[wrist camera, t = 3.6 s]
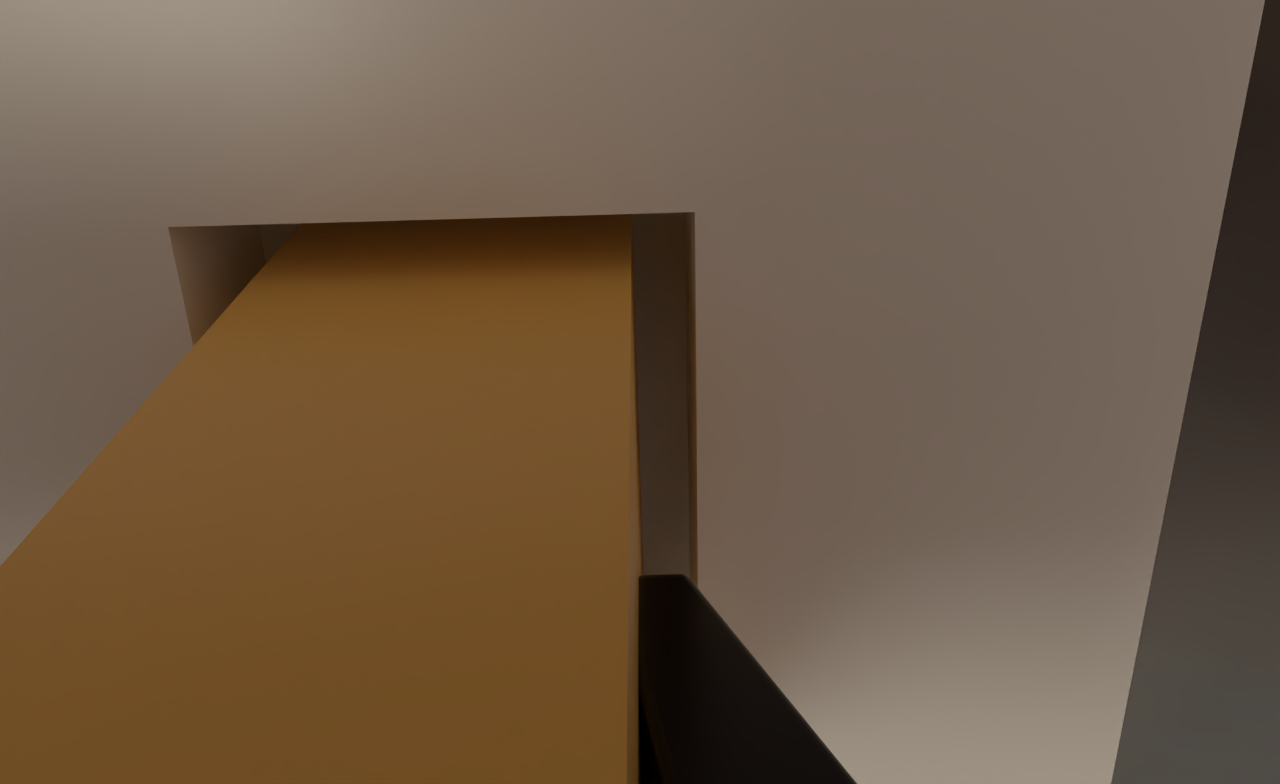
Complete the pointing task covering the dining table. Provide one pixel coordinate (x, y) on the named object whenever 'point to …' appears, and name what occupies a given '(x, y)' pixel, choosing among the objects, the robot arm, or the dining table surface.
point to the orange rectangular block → (356, 530)
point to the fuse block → (712, 292)
